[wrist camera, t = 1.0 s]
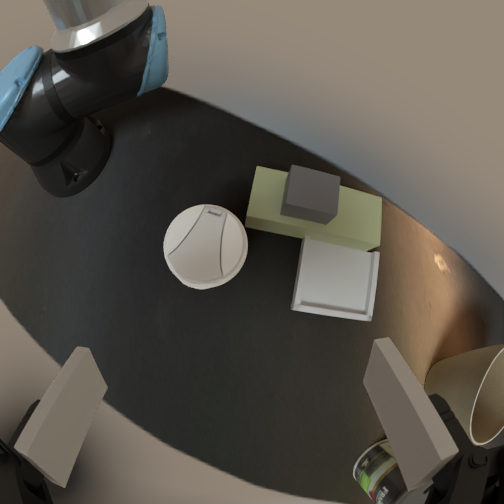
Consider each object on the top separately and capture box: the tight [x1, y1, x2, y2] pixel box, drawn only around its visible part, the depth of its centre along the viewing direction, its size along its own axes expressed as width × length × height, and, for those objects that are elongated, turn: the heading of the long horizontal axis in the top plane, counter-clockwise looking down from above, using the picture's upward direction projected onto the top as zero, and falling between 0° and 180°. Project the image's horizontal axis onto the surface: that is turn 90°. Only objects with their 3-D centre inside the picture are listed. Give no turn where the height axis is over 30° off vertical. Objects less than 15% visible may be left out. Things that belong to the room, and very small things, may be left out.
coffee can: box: [353, 439, 433, 504], centre depth 26 cm, size 10×10×14 cm
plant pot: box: [424, 344, 504, 445], centre depth 28 cm, size 15×15×16 cm
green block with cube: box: [245, 165, 382, 321], centre depth 34 cm, size 20×17×9 cm
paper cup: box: [164, 204, 248, 289], centre depth 30 cm, size 8×8×14 cm
